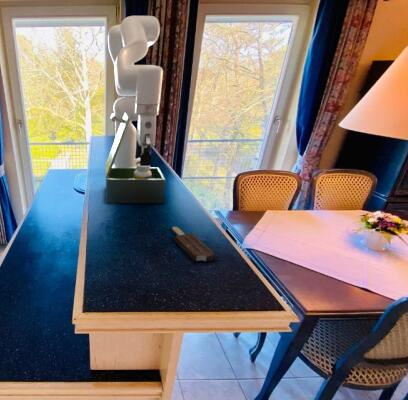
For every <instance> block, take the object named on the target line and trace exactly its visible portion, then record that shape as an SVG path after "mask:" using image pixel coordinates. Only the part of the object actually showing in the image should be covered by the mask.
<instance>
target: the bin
mask: <svg viewBox="0 0 408 400" xmlns="http://www.w3.org/2000/svg"><path fill="white" fill-rule="evenodd" d="M135 170H137V169H136V168H132V167H112V169H111V171H110V174H109V177H108V178H106V177H105V203H106V204H164V198H165V190H166V181H167V180H166V178H165V175H164V174H163V173H162V171H161V169H160V168H159V167H150V169H149V171H151V179H134V171H135Z"/></svg>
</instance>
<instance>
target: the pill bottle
mask: <svg viewBox="0 0 408 400" xmlns="http://www.w3.org/2000/svg"><path fill="white" fill-rule="evenodd" d="M136 165H137V166H136V169H137V170H135V171H134V179H151V171H149V169H150V168H151V164H150V165H149V166H141V165H140V162H138V163H136Z"/></svg>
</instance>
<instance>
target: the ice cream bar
mask: <svg viewBox="0 0 408 400" xmlns="http://www.w3.org/2000/svg"><path fill="white" fill-rule="evenodd" d="M171 230H172V231H173V232H174V233H175V234H176V235H174V238H173V240H174V242H175V243H176V244H177V245H178V246H179V247H180V248H181V249H182V250H183V251H184V252H185V253H186V254H187V256H189V257H190V258H191V260H192V261H193V262H200V261H202V262H205V263H208V262H211V261H213V260H214V258H215V252H214V251H213V250H212V249H210V247H209V246H208V245H206V244H205V243H204V242H203V241H202V240H201V239H200V238H199V237H198V236H196V234H194V233H193V232H190V233H184V231H182V230H181V229H180V228H179V227H177V226H172V228H171Z"/></svg>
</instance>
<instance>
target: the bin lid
mask: <svg viewBox="0 0 408 400" xmlns="http://www.w3.org/2000/svg"><path fill="white" fill-rule="evenodd" d="M110 120H111V122H113V123H115V121H118V122H121V124H120V127H119V130H118V133H117V135H116V138H115V137H114V141H113V144H112V147H111V149H110V152H109V154H108V157H107V160H106V163H105V165H104V167H105V169H104V170H105V173H104V175H105V179H106V178H108V177H109V174H110V171H111V169H112V166H113V164H115V158H116V155H117V153H118V150H119V148H120V145H121V142H122V140H123V137H124V134H125V132H126V129H127V127H128V124H129V121H130V117H129V115H128V114H127V113H126V112H125V114H124V116H123V119H122V118H119V117H116V115H115V114H114V113H111V115H110Z"/></svg>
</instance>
